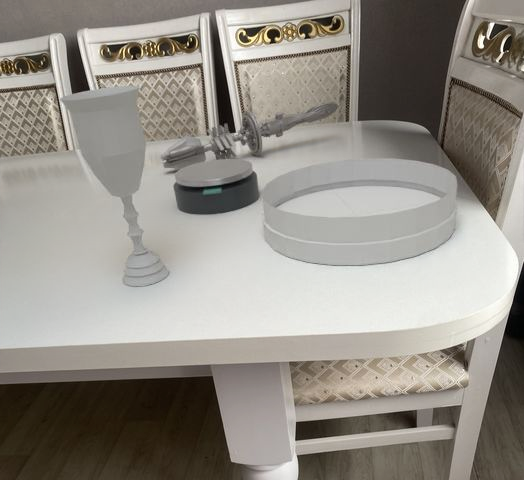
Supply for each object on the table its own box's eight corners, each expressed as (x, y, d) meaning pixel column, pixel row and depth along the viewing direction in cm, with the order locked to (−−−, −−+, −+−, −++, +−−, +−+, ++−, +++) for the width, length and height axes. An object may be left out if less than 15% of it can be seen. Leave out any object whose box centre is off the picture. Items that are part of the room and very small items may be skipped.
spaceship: (350, 96, 93) (328, 75, 97) (165, 154, 86) (150, 129, 90) (346, 135, 100) (326, 114, 104) (174, 193, 93) (159, 168, 97)
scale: (171, 219, 71) (167, 196, 70) (182, 192, 82) (178, 172, 80) (259, 210, 71) (256, 186, 69) (258, 184, 81) (256, 163, 79)
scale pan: (171, 190, 70) (169, 184, 70) (180, 169, 79) (179, 163, 79) (252, 181, 70) (252, 175, 69) (252, 161, 79) (252, 155, 78)
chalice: (141, 259, 61) (98, 87, 51) (190, 264, 58) (155, 83, 48) (99, 287, 55) (42, 101, 46) (151, 294, 53) (102, 98, 43)
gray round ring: (282, 280, 52) (277, 232, 49) (251, 211, 71) (247, 174, 68) (494, 244, 54) (501, 196, 51) (410, 187, 72) (411, 149, 70)
